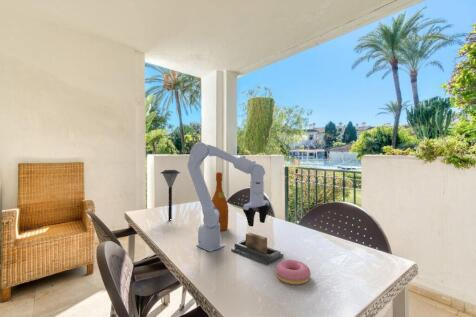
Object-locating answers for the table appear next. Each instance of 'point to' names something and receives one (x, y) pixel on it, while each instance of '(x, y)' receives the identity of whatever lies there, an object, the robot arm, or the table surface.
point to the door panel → (256, 242)
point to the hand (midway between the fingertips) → (256, 224)
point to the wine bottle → (221, 203)
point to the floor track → (257, 253)
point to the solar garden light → (170, 185)
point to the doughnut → (292, 272)
